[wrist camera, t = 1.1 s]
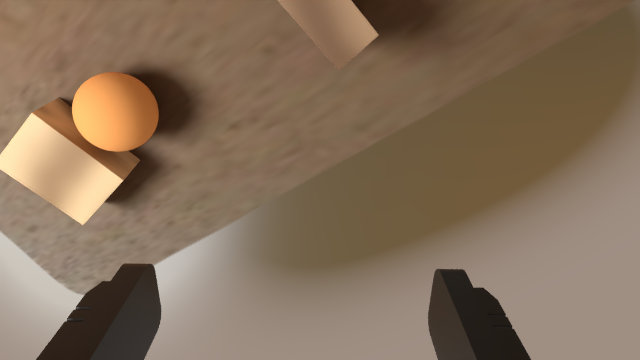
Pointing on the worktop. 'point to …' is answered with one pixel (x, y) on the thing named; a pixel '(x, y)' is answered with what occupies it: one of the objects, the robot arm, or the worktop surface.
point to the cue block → (64, 162)
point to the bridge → (332, 27)
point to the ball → (115, 111)
